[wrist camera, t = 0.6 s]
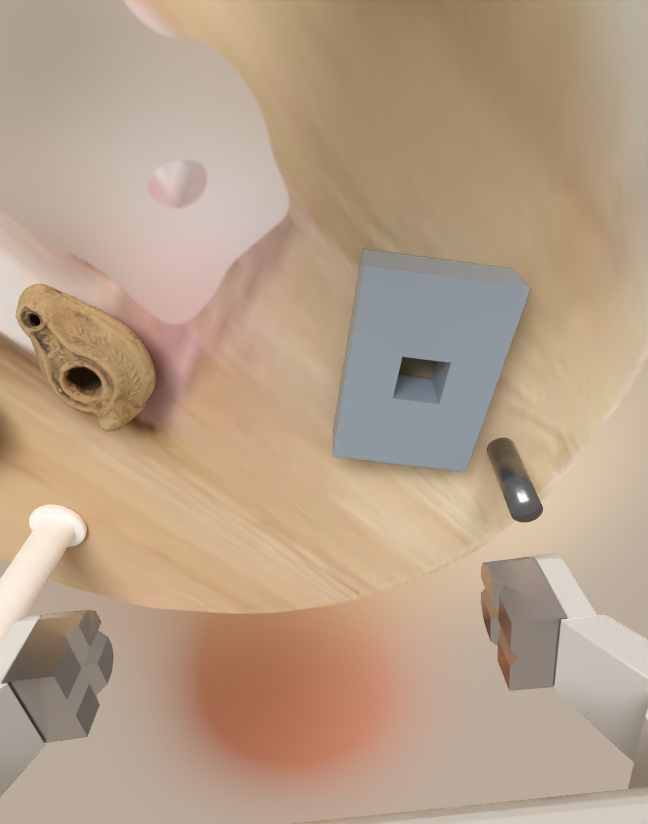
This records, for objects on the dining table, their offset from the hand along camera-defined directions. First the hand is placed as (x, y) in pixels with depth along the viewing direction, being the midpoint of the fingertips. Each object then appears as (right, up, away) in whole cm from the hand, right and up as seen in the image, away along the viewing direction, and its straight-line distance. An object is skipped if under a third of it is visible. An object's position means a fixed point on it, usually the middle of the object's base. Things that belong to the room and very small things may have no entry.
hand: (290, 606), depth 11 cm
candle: (-33, -10, +57) cm, 67 cm away
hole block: (+10, +10, +42) cm, 44 cm away
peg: (+21, 0, +48) cm, 52 cm away
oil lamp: (-22, +11, +42) cm, 49 cm away
